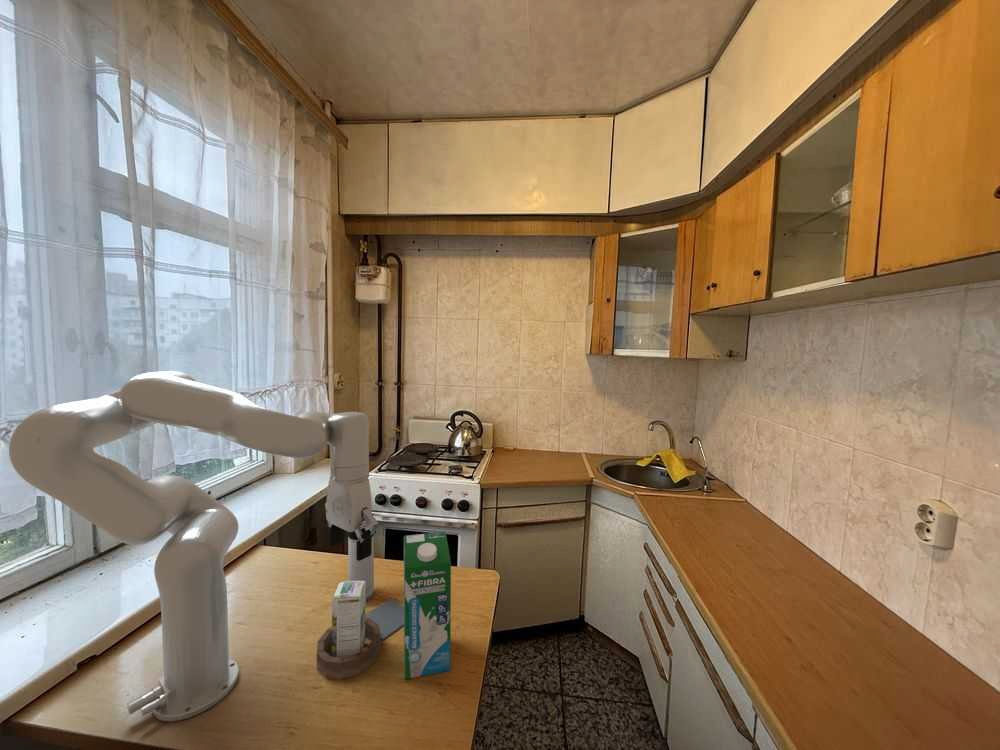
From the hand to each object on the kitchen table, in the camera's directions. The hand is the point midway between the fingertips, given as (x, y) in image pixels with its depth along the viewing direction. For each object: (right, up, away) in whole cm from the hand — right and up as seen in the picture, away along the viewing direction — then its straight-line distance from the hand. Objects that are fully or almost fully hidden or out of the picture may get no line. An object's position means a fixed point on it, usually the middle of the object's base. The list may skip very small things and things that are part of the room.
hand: (350, 550), depth 79 cm
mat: (+5, -22, +11) cm, 25 cm away
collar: (0, -22, 0) cm, 22 cm away
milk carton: (+16, -23, 0) cm, 28 cm away
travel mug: (-5, -22, +20) cm, 30 cm away
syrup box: (0, -23, 0) cm, 23 cm away
